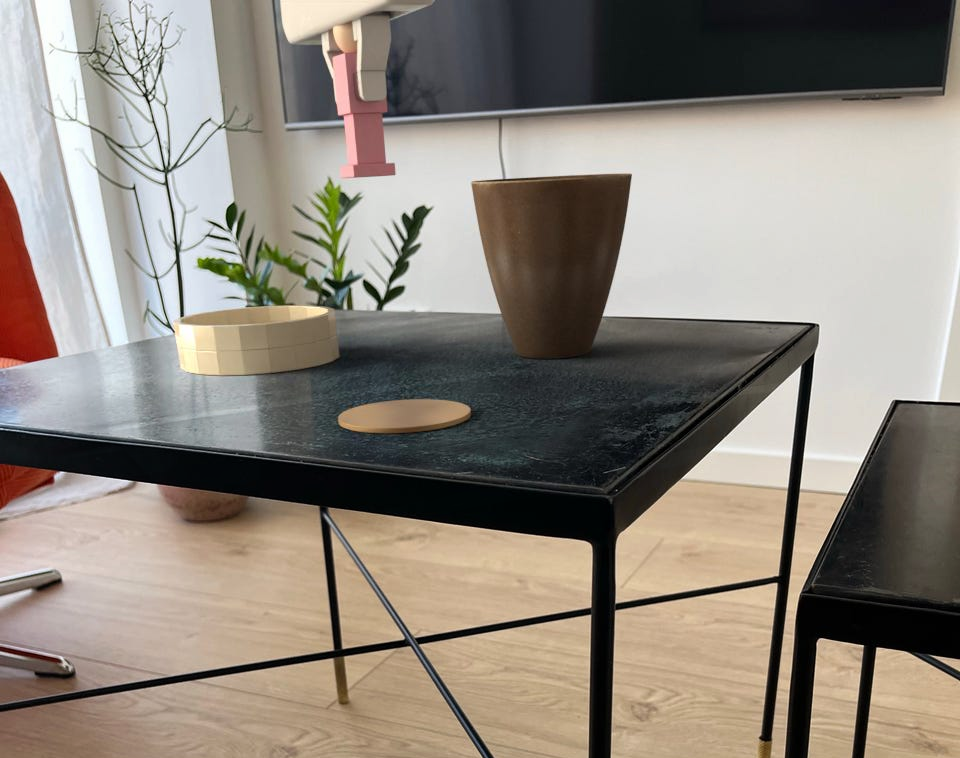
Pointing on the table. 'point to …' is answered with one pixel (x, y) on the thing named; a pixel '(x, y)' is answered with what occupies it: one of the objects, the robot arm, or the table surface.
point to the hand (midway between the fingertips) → (361, 104)
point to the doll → (358, 114)
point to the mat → (404, 416)
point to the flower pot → (552, 256)
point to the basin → (256, 339)
